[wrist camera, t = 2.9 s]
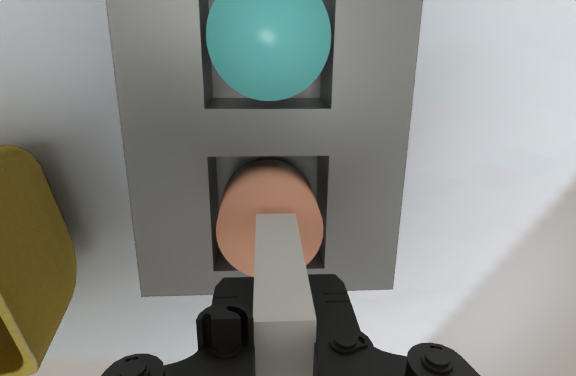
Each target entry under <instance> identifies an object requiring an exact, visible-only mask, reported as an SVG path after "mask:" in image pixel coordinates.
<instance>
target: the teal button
mask: <svg viewBox="0 0 576 376" xmlns="http://www.w3.org/2000/svg"><path fill="white" fill-rule="evenodd" d="M206 41H207V48H208V52H209V56H210V58H211V61H212V63H213V65H214V67H215V69H216V71H217V72H218V74H219V75H220V76H221V78H222V79H223V80H224V81H225V82H226V83H227V84H228V85H229V86H230V87H231V88H233V89H234V90H236V91H237V92H239V93H240V94H242V95H245V96H247V97H249V98H252V99H256V100H261V101H278V100H283V99H287V98H290V97H292V96H294V95H296V94H298V93H300V92H302V91H303V90H305V89H306V88H307V87H308V86H309V85H311V84H312V83H313V82H314V80H315V79H316V78H317V77H318V75H319V74H320V73H321V71H322V69H323V67H324V65H325V63H326V61H327V58H328V55H329V51H330V45H331V26H330V20H329V17H328V13H327V10H326V8H325V6H324V4H323V2H322V0H215V1H214V2H213V4H212V7H211V9H210V12H209V15H208V19H207V26H206Z"/></svg>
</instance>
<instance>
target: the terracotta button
mask: <svg viewBox="0 0 576 376" xmlns="http://www.w3.org/2000/svg"><path fill="white" fill-rule="evenodd" d="M285 213H296V218H297V223H298V228H299V233H300V238H301V244H302V249H303V254H304V259H305V264H306V265H307V264H308V263H309V262H310V261H311V260H312V259H313V258H314V256H315V255H316V253H317V251H318V250H319V248H320V245H321V242H322V238H323V220H322V216H321V213H320V210H319V208H318V205H317V202H316V199H315V196H314V194H313V191H312V188H311V186H310V184H309V182H308V180H307V179H306V177H305V176H304V175H303V174H302V173H301V172H300V171H299V170H298V169H297V168H295V167H294V166H292V165H290V164H288V163H286V162H283V161H279V160H272V159H265V160H258V161H254V162H251V163H249V164H247V165H245V166H243V167H242V168H240V169H239V170H238V171H236V172H235V173H234V174H233V176H232V177H231V178H230V179H229V181H228V182H227V185H226V187H225V189H224V192H223V197H222V201H221V205H220V210H219V214H218V219H217V224H216V237H217V242H218V246H219V248H220V250H221V252H222V254H223V256H224V257H225V258H226V260H227V261H228V262H229V263H230V264H231V265H232V266H233V267H235V268H236V269H237V270H239V271H241V272H242V273H244V274H247V275H249V276H252V277H254V263H255V231H256V214H285Z"/></svg>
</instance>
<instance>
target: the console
mask: <svg viewBox="0 0 576 376" xmlns="http://www.w3.org/2000/svg"><path fill="white" fill-rule="evenodd" d="M214 1H215V0H106V7H107V15H108V23H109V31H110V40H111V48H112V56H113V65H114V73H115V81H116V89H117V98H118V106H119V114H120V123H121V131H122V139H123V148H124V156H125V164H126V172H127V181H128V189H129V197H130V206H131V214H132V222H133V230H134V239H135V247H136V255H137V264H138V272H139V280H140V289H141V297H150V296H184V295H214V290H215V286H216V285H217V284H218V283H219V282H220V281H221V280H222V278H224V277H252V276H249V275H247V274H244V273H242V272H241V271H239V270H237V269H236V268H235V267H233V266H232V265H231V264H230V263H229V262H228V261H227V260H226V258H225V257H224V256H223V254H222V252H221V250H220V248H219V246H218V242H217V237H216V224H217V219H218V214H219V210H220V205H221V201H222V197H223V192H224V189H225V187H226V185H227V182H228V181H229V179H230V178H231V177H232V176H233V174H234V173H235V172H236V171H238V170H239V169H240V168H242V167H243V166H245V165H247V164H249V163H251V162H254V161H258V160H265V159H272V160H279V161H283V162H286V163H288V164H290V165H292V166H294V167H295V168H297V169H298V170H299V171H300V172H301V173H302V174H303V175H304V176H305V177H306V179H307V180H308V182H309V184H310V186H311V188H312V191H313V194H314V196H315V199H316V202H317V205H318V208H319V210H320V213H321V216H322V220H323V238H322V242H321V245H320V248H319V250H318V251H317V253H316V255H315V256H314V258H313V259H312V260H311V261H310V262H309V263H308V264H307V265H306V269H307V274H335V275H336V276H337V277H339V278H340V279H341V280H342V281H343V282H344V284H345V287H346V290H347V291H355V290H389V289H393V283H394V273H395V264H396V254H397V244H398V235H399V225H400V216H401V206H402V196H403V187H404V177H405V168H406V158H407V148H408V139H409V129H410V119H411V110H412V100H413V91H414V81H415V71H416V62H417V52H418V43H419V33H420V23H421V14H422V4H423V0H322V2H323V4H324V6H325V8H326V10H327V13H328V17H329V20H330V26H331V45H330V51H329V55H328V58H327V61H326V63H325V65H324V67H323V69H322V71H321V73H320V74H319V75H318V77H317V78H316V79H315V80H314V82H313V83H312V84H311V85H309V86H308V87H307V88H306V89H305V90H303V91H302V92H300V93H298V94H296V95H294V96H292V97H290V98H287V99H283V100H278V101H261V100H256V99H252V98H249V97H247V96H245V95H242V94H240V93H239V92H237V91H236V90H234V89H233V88H231V87H230V86H229V85H228V84H227V83H226V82H225V81H224V80H223V79H222V78H221V76H220V75H219V74H218V72H217V71H216V69H215V67H214V65H213V63H212V61H211V58H210V56H209V52H208V48H207V41H206V26H207V19H208V15H209V12H210V9H211V7H212V4H213V2H214Z"/></svg>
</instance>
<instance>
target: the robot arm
mask: <svg viewBox="0 0 576 376" xmlns="http://www.w3.org/2000/svg"><path fill="white" fill-rule="evenodd" d="M196 326H197V340H198V351H197V352H196V353H195V354H194V355H192V356H190V357H188V358H187V359H184V360H182V361H179V362H176V363H172V364H168V365H165V366H164V365H163V362H162V361H161V360H160V359H159V358H158V357H156V356H153V355H150V354H134V355H130V356H126V357H124V358H122V359H120V360H118V361H116V362H114V363H113V364H112V365H111V366H110V367H109V368H108V369H106V370H105V372H104V373H103V374H102V375H101V376H480V375H479V374H478V373H477V372H476V371H475V370H474V369H473V368H472V367H471V366H470V365H469V364H468V363H467V362H466V361H465V360H464V359H463V358H462V357H461V356H460V355H459V354H458V353H456V352H455V351H454V350H452V349H450V348H448V347H445V346H443V345H440V344H434V343H420V344H418V345H415V346H413V347H412V348H411V349H410V350H409V351H408V354H407V357H406V356H401V355H396V354H391V353H388V352H384V351H381V350H379V349H377V348H375V347H374V346H373V344H372V342H371V340H370V339H369V337H368V336H366V335H365V334H364V333H362V332H361V331H360V328H359V325H358V322H357V319H356V316H355V313H354V310H353V307H352V305H351V303H350V299H349V296H348V294H347V290H346V287H345V284H344V282H343V281H342V280H341V279H340V278H339V277H337V276H336V275H335V274H307V269H306V264H305V259H304V254H303V249H302V244H301V238H300V233H299V228H298V223H297V218H296V213H285V214H256V231H255V263H254V277H224V278H222V280H221V281H220V282H219V283H218V284H217V285H216V286H215V290H214V295H213V300H212V305H211V306H210V307H208V308H206V309H205V310H203V311H202V312H201V313H200V314H199V316H198V317H197V319H196Z"/></svg>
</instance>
